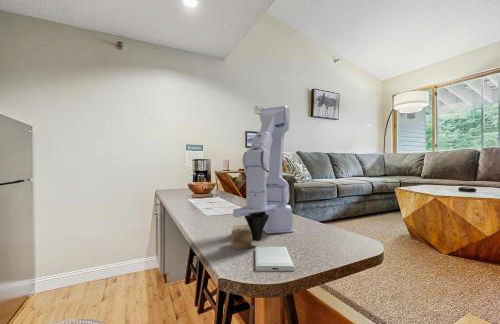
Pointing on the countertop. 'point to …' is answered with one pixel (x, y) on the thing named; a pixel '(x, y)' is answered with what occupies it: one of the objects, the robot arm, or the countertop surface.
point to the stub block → (241, 239)
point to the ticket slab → (241, 228)
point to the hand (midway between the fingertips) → (256, 240)
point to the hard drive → (273, 259)
